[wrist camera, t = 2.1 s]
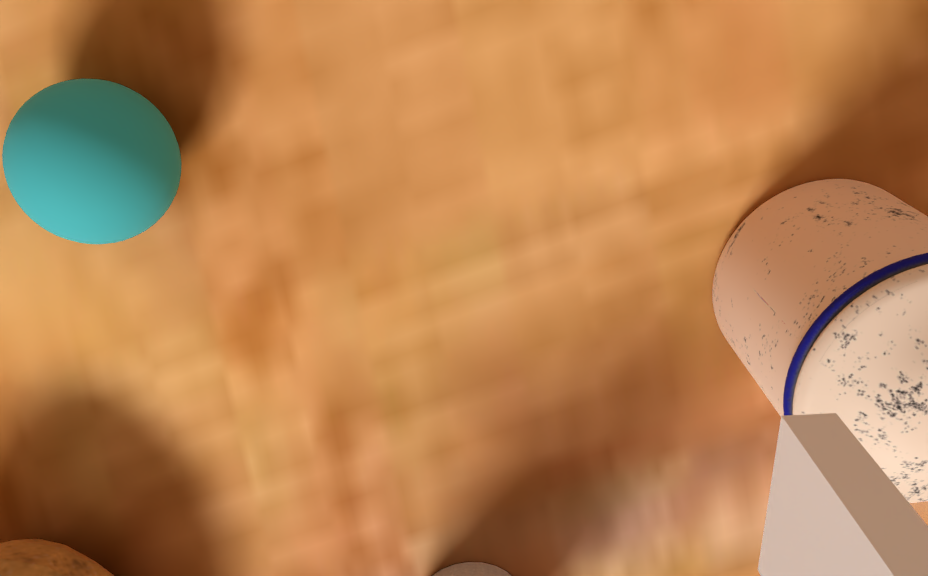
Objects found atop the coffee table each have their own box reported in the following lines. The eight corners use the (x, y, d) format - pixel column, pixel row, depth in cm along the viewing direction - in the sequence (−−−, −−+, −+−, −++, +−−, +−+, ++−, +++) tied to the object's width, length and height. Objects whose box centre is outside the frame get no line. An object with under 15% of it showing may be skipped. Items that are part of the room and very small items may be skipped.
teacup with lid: (758, 408, 37) (894, 607, 27) (665, 249, 34) (777, 405, 23) (1020, 267, 35) (1279, 424, 25) (947, 82, 32) (1213, 172, 21)
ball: (61, 215, 32) (-4, 273, 27) (26, 67, 30) (-52, 101, 25) (208, 209, 32) (170, 265, 27) (184, 62, 30) (138, 94, 25)
